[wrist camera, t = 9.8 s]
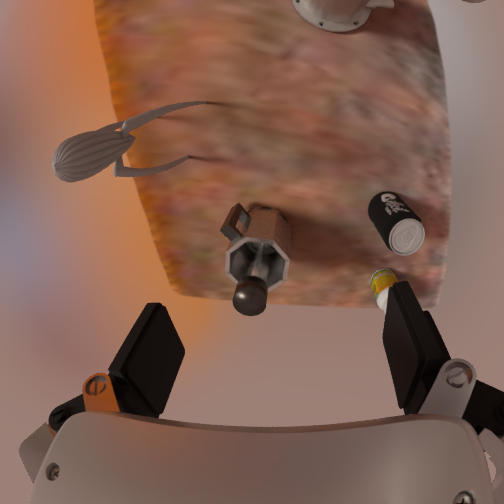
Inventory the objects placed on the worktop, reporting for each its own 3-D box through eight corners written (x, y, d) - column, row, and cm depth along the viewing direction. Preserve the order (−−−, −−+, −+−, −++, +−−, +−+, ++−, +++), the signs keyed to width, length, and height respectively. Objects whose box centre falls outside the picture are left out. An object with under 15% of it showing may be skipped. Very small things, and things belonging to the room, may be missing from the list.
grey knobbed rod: (277, 219, 48) (270, 280, 32) (282, 250, 50) (277, 320, 35) (242, 223, 49) (219, 284, 33) (248, 254, 52) (230, 322, 36)
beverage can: (359, 210, 48) (377, 241, 37) (383, 182, 44) (408, 206, 34) (384, 231, 49) (405, 266, 38) (407, 205, 46) (435, 234, 35)
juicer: (227, 123, 43) (136, 159, 17) (188, 158, 47) (77, 235, 21) (187, 80, 40) (58, 69, 14) (150, 117, 44) (14, 153, 18)
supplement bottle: (397, 282, 54) (411, 313, 45) (374, 293, 55) (384, 324, 47) (390, 262, 52) (405, 292, 43) (366, 274, 53) (377, 304, 45)
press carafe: (300, 235, 51) (302, 272, 41) (260, 262, 55) (253, 302, 45) (257, 185, 48) (247, 210, 37) (218, 216, 51) (199, 248, 41)
